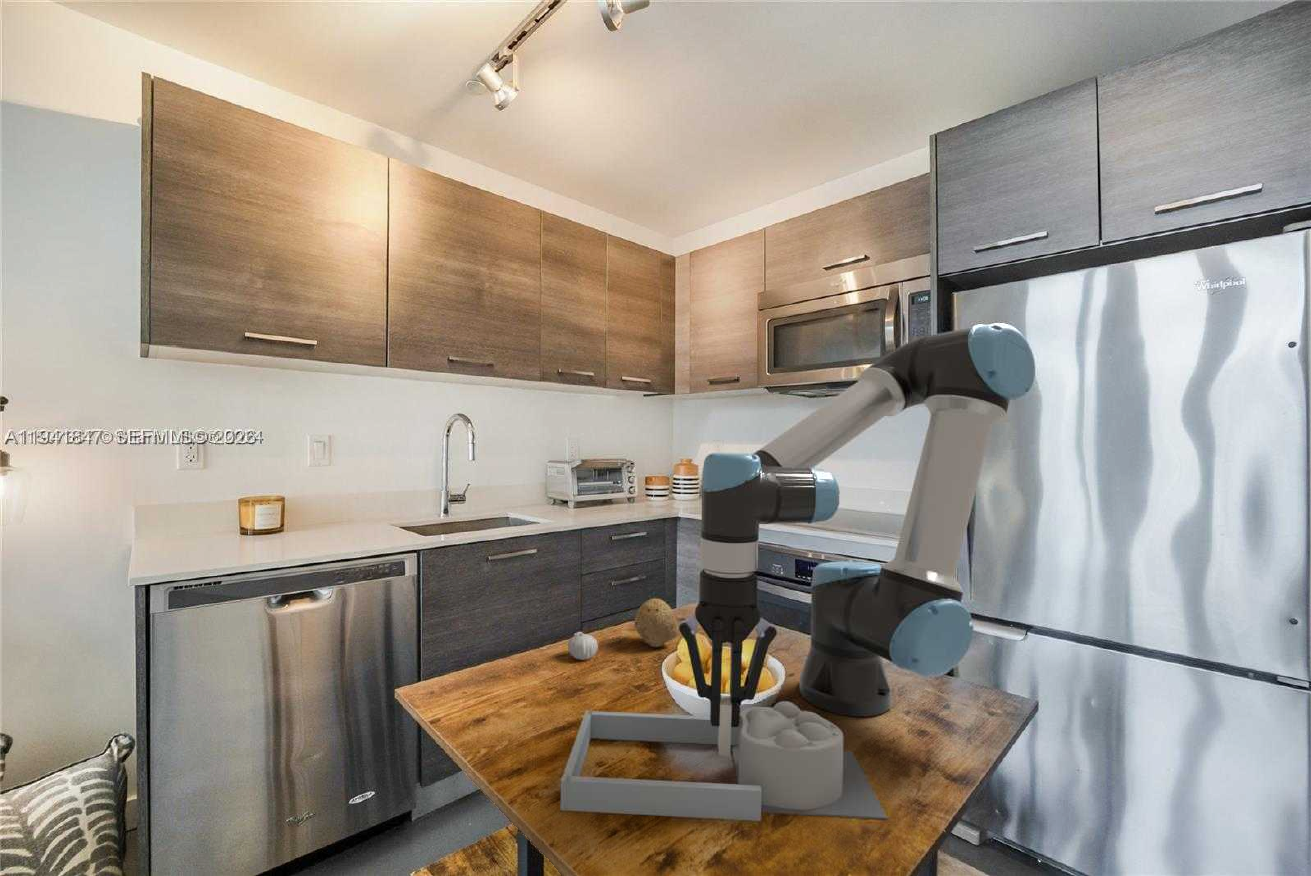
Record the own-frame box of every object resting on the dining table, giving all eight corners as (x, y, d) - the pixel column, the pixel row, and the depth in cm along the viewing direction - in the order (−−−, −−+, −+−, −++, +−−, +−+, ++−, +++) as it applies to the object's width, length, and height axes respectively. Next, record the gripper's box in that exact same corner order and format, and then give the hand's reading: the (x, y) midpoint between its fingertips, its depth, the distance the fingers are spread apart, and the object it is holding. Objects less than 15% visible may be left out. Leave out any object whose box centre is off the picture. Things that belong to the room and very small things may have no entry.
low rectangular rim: (744, 741, 83) (745, 718, 83) (760, 820, 66) (761, 790, 66) (585, 734, 84) (585, 710, 84) (560, 810, 67) (561, 780, 67)
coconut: (627, 641, 122) (628, 594, 122) (664, 636, 126) (665, 591, 126) (643, 656, 114) (644, 606, 114) (682, 650, 117) (683, 602, 117)
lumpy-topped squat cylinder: (738, 755, 79) (739, 693, 79) (834, 765, 77) (836, 701, 77) (738, 803, 68) (740, 731, 68) (850, 815, 67) (851, 742, 67)
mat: (851, 752, 80) (851, 751, 80) (887, 819, 66) (887, 817, 66) (731, 746, 81) (731, 745, 81) (742, 811, 67) (742, 809, 67)
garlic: (565, 663, 110) (565, 636, 110) (569, 652, 115) (569, 627, 115) (596, 663, 110) (596, 637, 110) (598, 653, 115) (599, 627, 115)
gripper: (773, 565, 78) (769, 736, 78) (679, 562, 78) (675, 731, 78) (783, 579, 70) (778, 769, 70) (678, 575, 71) (674, 763, 71)
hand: (723, 749), depth 74 cm, fingers closed
